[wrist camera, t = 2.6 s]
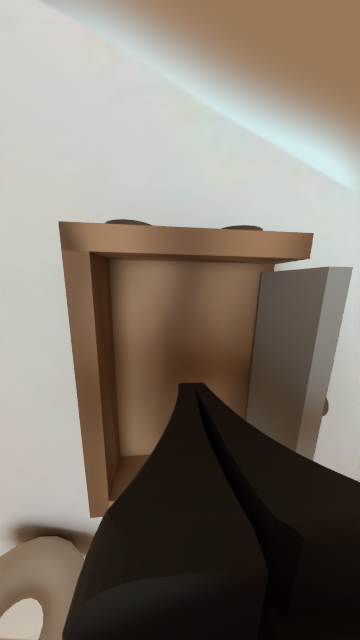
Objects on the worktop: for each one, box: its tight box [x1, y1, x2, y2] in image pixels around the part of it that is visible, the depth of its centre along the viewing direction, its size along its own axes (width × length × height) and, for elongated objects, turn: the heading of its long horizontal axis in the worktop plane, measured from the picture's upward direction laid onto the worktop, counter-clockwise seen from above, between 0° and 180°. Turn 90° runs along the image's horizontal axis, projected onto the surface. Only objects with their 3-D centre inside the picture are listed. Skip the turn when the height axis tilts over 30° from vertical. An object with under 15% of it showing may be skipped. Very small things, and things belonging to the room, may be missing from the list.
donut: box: [0, 536, 84, 640], centre depth 13 cm, size 10×4×10 cm, turn 68°
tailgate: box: [246, 267, 353, 461], centre depth 11 cm, size 2×14×5 cm, turn 179°
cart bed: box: [58, 219, 314, 518], centre depth 13 cm, size 12×19×5 cm, turn 179°
